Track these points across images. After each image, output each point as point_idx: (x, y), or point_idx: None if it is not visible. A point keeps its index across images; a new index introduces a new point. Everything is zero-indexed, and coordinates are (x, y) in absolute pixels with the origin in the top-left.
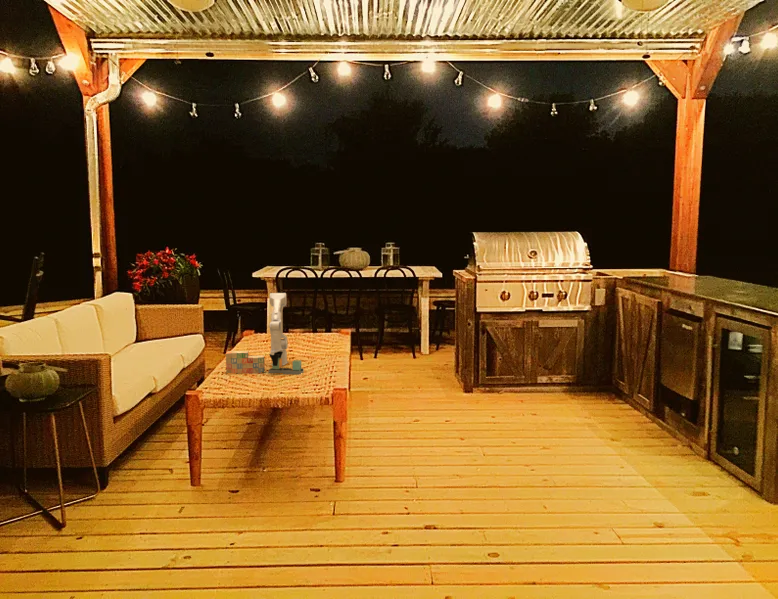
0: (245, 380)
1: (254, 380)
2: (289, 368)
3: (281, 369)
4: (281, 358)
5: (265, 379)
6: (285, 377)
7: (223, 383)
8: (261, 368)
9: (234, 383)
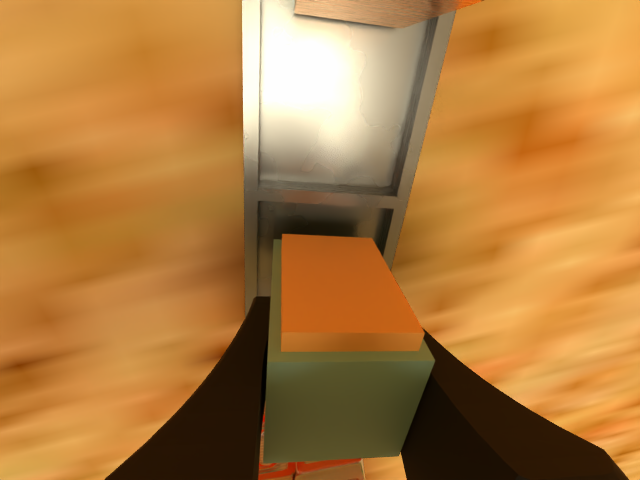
0: (578, 387)
1: (604, 340)
2: (259, 106)
3: (258, 227)
4: (312, 337)
5: (605, 276)
6: (599, 85)
7: (606, 451)
8: None
9: (635, 412)
